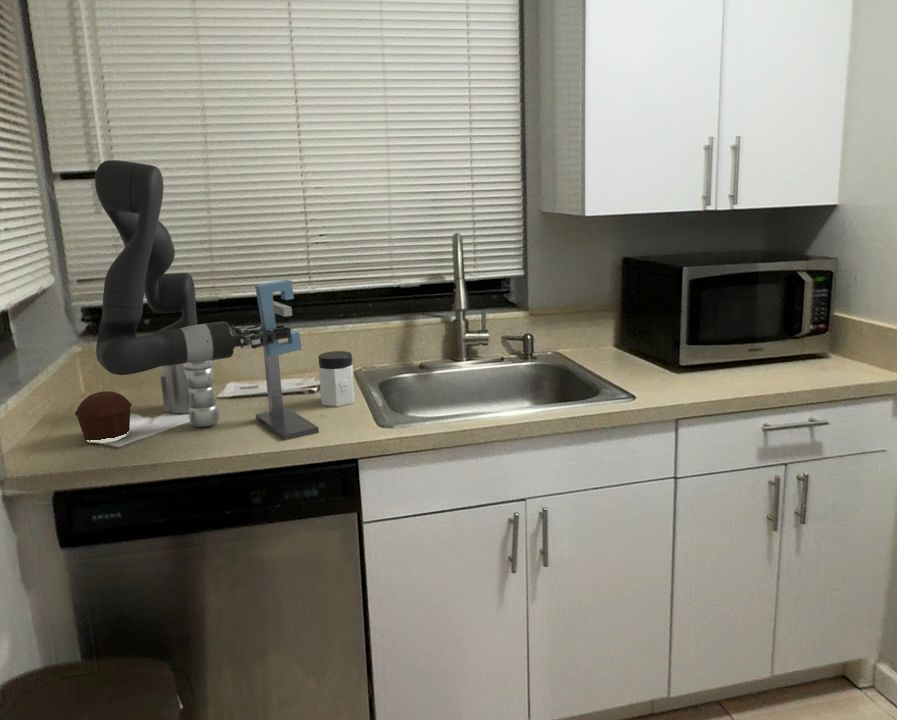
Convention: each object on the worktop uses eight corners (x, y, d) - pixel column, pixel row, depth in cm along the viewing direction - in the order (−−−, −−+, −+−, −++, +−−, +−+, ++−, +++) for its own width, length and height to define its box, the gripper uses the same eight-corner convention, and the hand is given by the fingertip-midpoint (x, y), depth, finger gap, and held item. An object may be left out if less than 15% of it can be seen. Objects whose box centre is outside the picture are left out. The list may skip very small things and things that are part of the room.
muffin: (114, 447, 160) (107, 402, 158) (67, 445, 162) (60, 401, 160) (145, 429, 172) (140, 386, 169) (101, 427, 174) (95, 385, 171)
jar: (328, 409, 182) (325, 360, 179) (315, 401, 188) (311, 354, 186) (362, 402, 187) (359, 354, 184) (347, 394, 193) (344, 349, 190)
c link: (270, 356, 159) (259, 286, 155) (266, 354, 161) (255, 285, 157) (301, 349, 162) (291, 280, 158) (297, 347, 165) (286, 279, 160)
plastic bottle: (204, 431, 168) (193, 344, 164) (184, 427, 172) (173, 341, 167) (226, 423, 174) (217, 338, 169) (206, 419, 177) (196, 335, 172)
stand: (284, 440, 161) (271, 301, 154) (255, 419, 176) (243, 291, 169) (318, 432, 165) (308, 296, 158) (288, 412, 180) (277, 287, 173)
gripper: (213, 329, 146) (298, 318, 155) (194, 319, 157) (274, 309, 166) (217, 367, 147) (301, 353, 156) (198, 354, 159) (277, 342, 168)
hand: (286, 331), depth 161 cm, fingers closed on c link, 2 cm apart
